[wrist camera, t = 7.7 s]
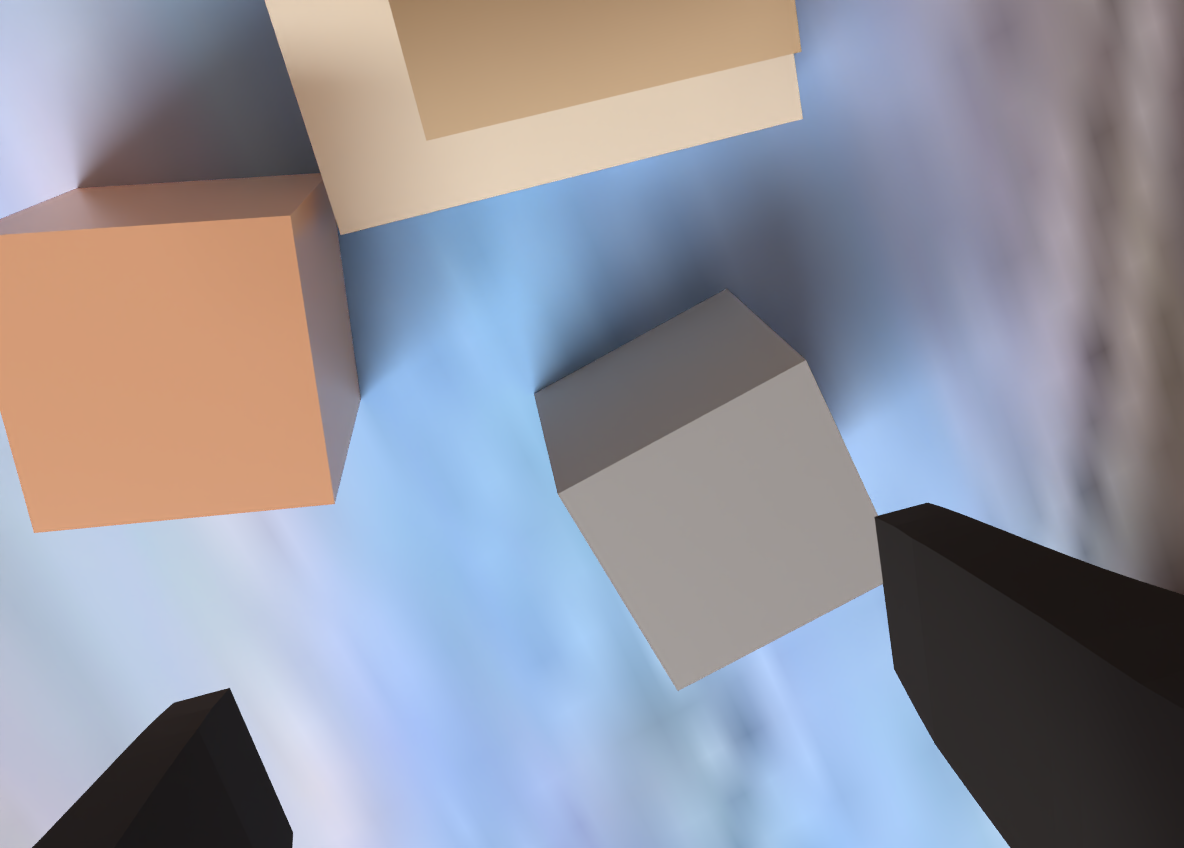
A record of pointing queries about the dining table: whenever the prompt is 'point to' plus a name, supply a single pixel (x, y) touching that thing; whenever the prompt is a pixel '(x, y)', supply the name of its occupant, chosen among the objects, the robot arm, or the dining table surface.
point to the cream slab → (494, 153)
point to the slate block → (711, 486)
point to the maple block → (572, 51)
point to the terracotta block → (176, 351)
